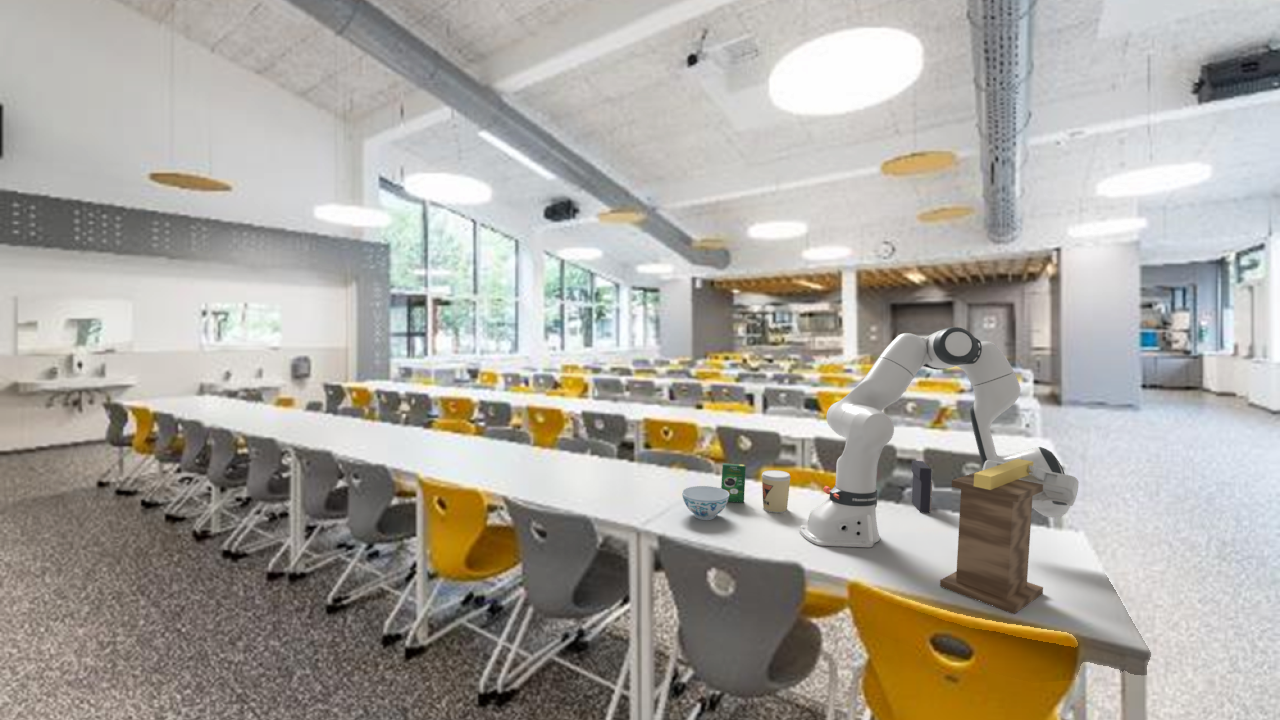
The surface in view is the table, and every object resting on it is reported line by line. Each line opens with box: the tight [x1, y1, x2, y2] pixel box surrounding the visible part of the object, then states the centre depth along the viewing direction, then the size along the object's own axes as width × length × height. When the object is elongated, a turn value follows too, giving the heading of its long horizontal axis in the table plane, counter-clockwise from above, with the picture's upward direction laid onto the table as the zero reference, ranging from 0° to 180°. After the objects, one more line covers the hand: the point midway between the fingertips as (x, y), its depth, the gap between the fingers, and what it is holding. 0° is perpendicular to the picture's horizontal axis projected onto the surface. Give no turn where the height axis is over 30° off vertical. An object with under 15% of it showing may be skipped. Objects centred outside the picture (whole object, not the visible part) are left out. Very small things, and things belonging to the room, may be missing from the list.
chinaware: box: [681, 485, 729, 521], centre depth 187 cm, size 15×15×8 cm
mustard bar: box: [973, 459, 1033, 490], centre depth 139 cm, size 24×4×3 cm, turn 127°
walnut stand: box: [939, 470, 1044, 615], centre depth 137 cm, size 16×16×26 cm
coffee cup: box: [761, 469, 791, 514], centre depth 195 cm, size 9×9×12 cm
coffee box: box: [720, 462, 747, 504], centre depth 202 cm, size 8×3×13 cm, turn 85°
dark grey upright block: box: [910, 460, 933, 514], centre depth 197 cm, size 11×4×15 cm, turn 168°
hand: (1019, 466), depth 143 cm, fingers closed on mustard bar, 3 cm apart
